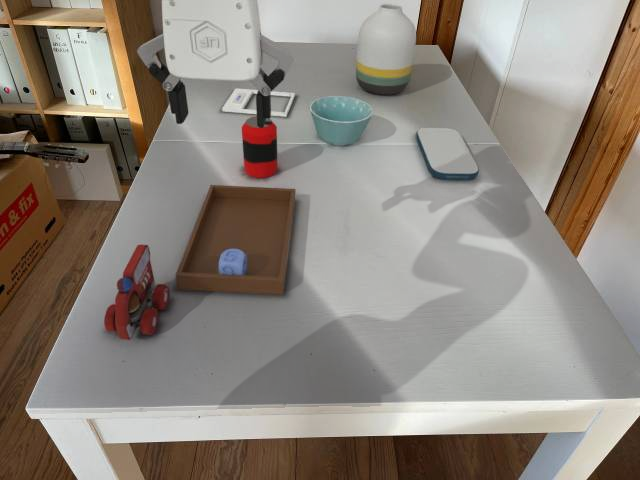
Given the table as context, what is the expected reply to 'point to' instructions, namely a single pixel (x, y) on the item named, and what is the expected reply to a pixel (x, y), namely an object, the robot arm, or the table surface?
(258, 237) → the tray
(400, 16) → the vase
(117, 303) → the toy fire truck
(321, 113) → the bowl
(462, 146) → the external hard drive
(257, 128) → the soda can
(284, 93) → the photo frame
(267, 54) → the robot arm
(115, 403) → the table surface
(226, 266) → the decorative dice
